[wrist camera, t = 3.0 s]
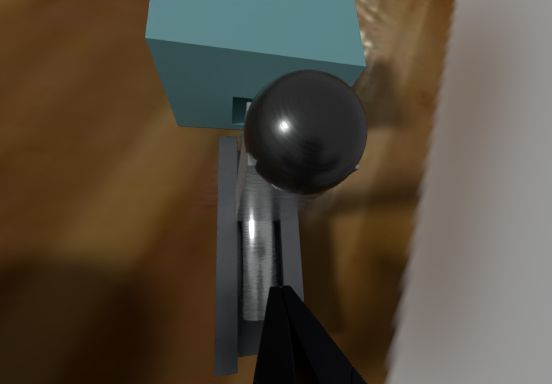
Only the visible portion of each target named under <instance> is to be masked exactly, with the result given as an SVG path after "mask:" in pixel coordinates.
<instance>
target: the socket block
mask: <svg viewBox="0 0 552 384" xmlns="http://www.w3.org/2000/svg"><path fill="white" fill-rule="evenodd" d="M145 39H146V41H147V44H148V47H149V49H150V52H151V55H152V58H153V60H154V63H155V66H156V68H157V71H158V74H159V76H160V79H161V82H162V84H163V87H164V90H165V92H166V95H167V98H168V101H169V103H170V106H171V109H172V111H173V114H174V117H175V119H176V122H177V125H178V126H189V127H205V128H221V129H237V130H244V122H245V114H246V106H247V102H252V101H253V99H254V97H255V96H256V94H257V93H258V92H259V91H260V90H261V88H262V87H263V86H264V85H266V84H267V83H268V82H269V81H271V80H272V79H273V78H275V77H276V76H278V75H281V74H283V73H285V72H288V71H291V70H295V69H304V68H312V69H319V70H323V71H327V72H329V73H332V74H334V75H335V76H337V77H339V78H340V79H342V80H343V81H345V82H346V83H347V84H348V85H349V86H350V87H352V86H353V84H354V83H355V81H356V80H357V79H358V77H359V76H360V74H361V73H362V72H363V70H364V69H365V68H366V62H365V57H364V52H363V46H362V41H361V35H360V30H359V24H358V19H357V13H356V8H355V3H354V0H150V4H149V12H148V20H147V27H146V35H145Z"/></svg>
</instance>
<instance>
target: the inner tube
mask: <svg viewBox="0 0 552 384" xmlns="http://www.w3.org/2000/svg"><path fill="white" fill-rule="evenodd" d="M366 140H367V119H366V114H365V111H364V108H363V106H362V103H361V101H360V99H359V97H358V96H357V94H356V93H355V91H354V90H353V89H352V88H351V87H350V86H349V85H348V84H347V83H346V82H345V81H343V80H342V79H340V78H339V77H337V76H335V75H334V74H332V73H329V72H327V71H323V70H319V69H312V68H304V69H295V70H291V71H288V72H285V73H283V74H281V75H278V76H276V77H275V78H273V79H272V80H271V81H269V82H268V83H267V84H266V85H264V86H263V87H262V88H261V90H260V91H259V92H258V93H257V94H256V96H255V97H254V99H253V101H252V102H247V106H246V114H245V122H244V130H243V133H242V134H241V154H240V162H239V170H238V178H237V186H236V221H241V251H242V318H243V319H244V320H249V321H262V320H264V316H265V310H266V304H267V298H268V293H269V288H270V287H271V286H277V270H276V248H275V226H274V220H285V219H286V218H288V217H289V216H291V215H292V214H293V213H295V212H296V211H298V210H299V209H301V208H302V207H304V206H305V205H307V204H308V203H309V202H311V201H312V200H314V199H315V198H317V197H318V196H320V195H321V194H323V193H324V192H326V191H327V190H329V189H331V188H333V187H335V186H337V185H338V184H340V183H341V182H342V181H344V180H345V179H346V178H347V177H348V176H349V175H350V174H352V173H353V172H355V171H356V170H358V169H359V166H358V163H359V161H360V159H361V157H362V155H363V152H364V149H365V145H366Z"/></svg>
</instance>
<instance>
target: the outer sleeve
mask: <svg viewBox="0 0 552 384" xmlns="http://www.w3.org/2000/svg"><path fill="white" fill-rule="evenodd" d="M240 154H241V151H237V137H221V136H219V167H218V216H217V266H216V316H215V366H214V377H215V376H222V375H229V374H235V373H237V357H243V356H251V355H258V351H259V345H260V339H261V333H262V327H263V322H264V320H262V321H249V320H244V319H243V318H242V251H241V221H236V186H237V178H238V170H239V162H240ZM274 226H275V248H276V270H277V286H279V287H280V286H283V285H290V286H291V287H292V288H293V290H294V291H295V292H296V293H297V295H298V296H299V297H300V299H301V300H302V301H303V302H304V292H303V278H302V264H301V251H300V237H299V223H298V211H296V212H295V213H293V214H292V215H291V216H289V217H288V218H286V219H285V220H274Z"/></svg>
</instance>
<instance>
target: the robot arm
mask: <svg viewBox="0 0 552 384" xmlns="http://www.w3.org/2000/svg"><path fill="white" fill-rule="evenodd" d="M253 384H367V383H366V382H365V380H364V379H363V378H362V377H361V375H360V374H359V373H358V372H357V370H356V369H355V368H354V367H352V364H351V363H350V361H349V360H348V359H347V358H346V356H345V355H344V354H343V352H342V351H341V350H340V349H339V347H338V346H337V345H336V343H335V342H334V341H333V340H332V338H331V337H330V336H329V334H328V333H327V332H326V331H325V329H324V328H323V327H322V325H321V324H320V323H319V322H318V320H317V319H316V318H315V317H314V315H313V314H312V313H311V311H310V310H309V309H308V308H307V306H306V305H305V304H304V302H303V301H302V300H301V299H300V297H299V296H298V295H297V293H296V292H295V291H294V290H293V288H292V287H291V286H290V285H283V286H280V287H279V286H271V287H270V288H269V293H268V298H267V304H266V310H265V316H264V322H263V327H262V333H261V339H260V345H259V351H258V357H257V362H256V368H255V374H254V380H253Z"/></svg>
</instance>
